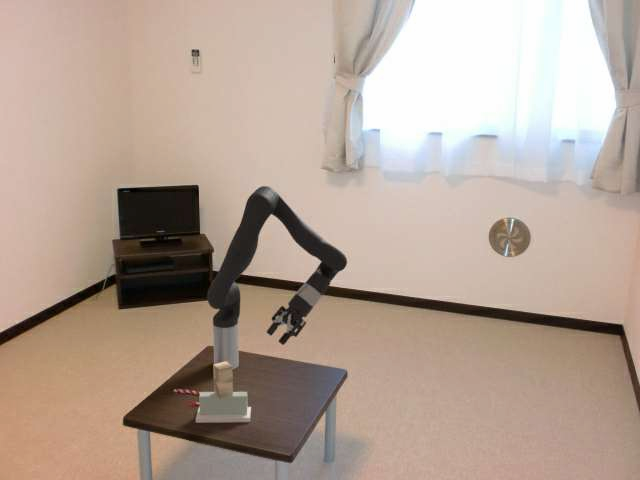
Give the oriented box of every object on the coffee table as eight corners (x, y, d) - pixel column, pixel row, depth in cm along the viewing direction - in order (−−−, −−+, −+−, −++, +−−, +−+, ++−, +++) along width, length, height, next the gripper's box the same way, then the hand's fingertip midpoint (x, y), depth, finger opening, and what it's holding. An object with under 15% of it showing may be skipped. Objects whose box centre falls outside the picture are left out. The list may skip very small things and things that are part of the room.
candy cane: (180, 385, 221) (214, 395, 214) (180, 388, 221) (214, 399, 214) (164, 394, 214) (199, 405, 207) (165, 397, 214) (199, 409, 207)
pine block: (214, 392, 201) (213, 364, 198) (226, 389, 203) (226, 361, 201) (220, 398, 197) (219, 369, 195) (232, 395, 200) (232, 366, 197)
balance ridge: (199, 411, 205) (198, 389, 203) (251, 410, 206) (250, 388, 204) (195, 422, 198) (195, 399, 196) (249, 422, 199) (249, 399, 197)
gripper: (287, 287, 213) (257, 325, 210) (309, 300, 201) (277, 340, 198) (301, 299, 217) (271, 337, 214) (322, 312, 205) (292, 352, 202)
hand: (274, 338), depth 206 cm, fingers open, 8 cm apart
